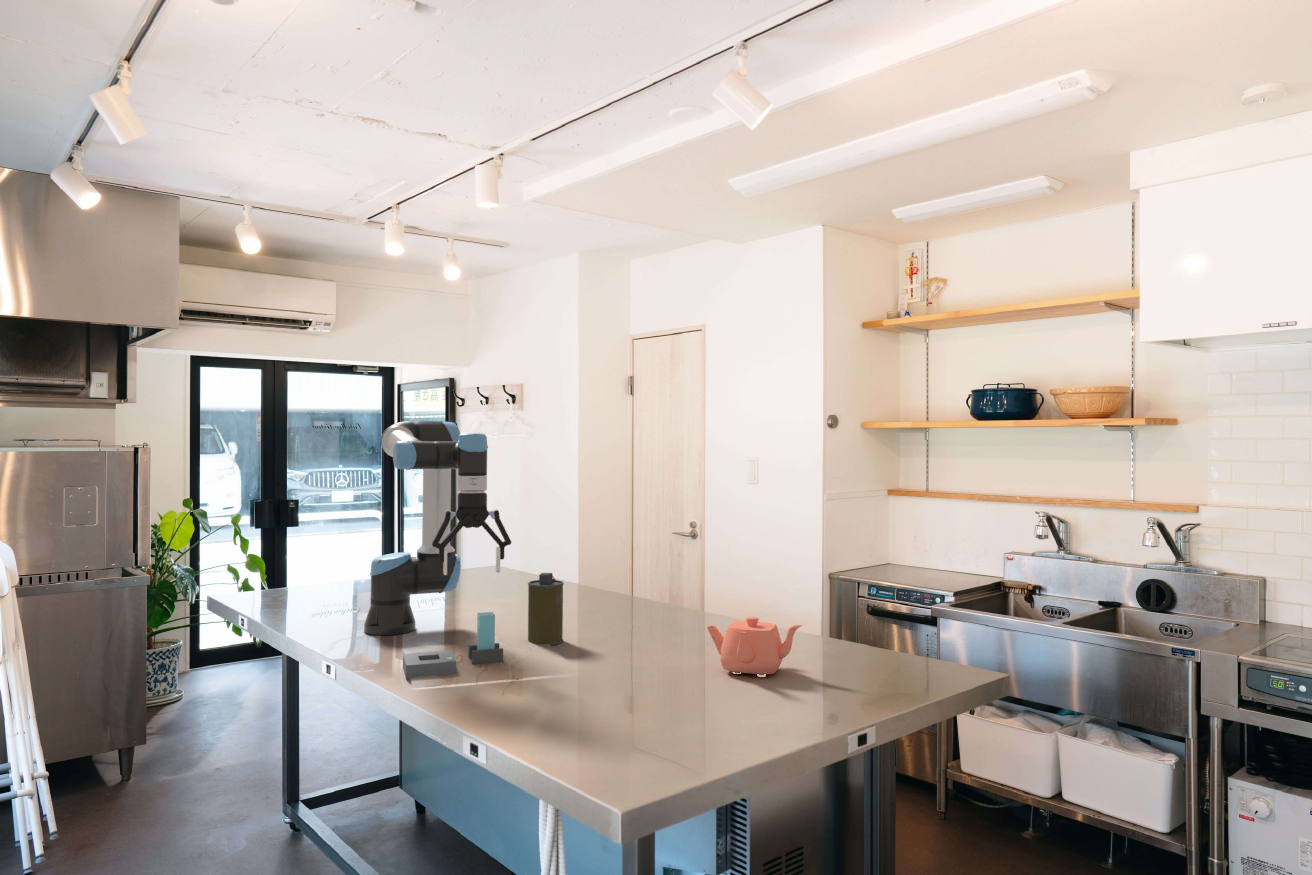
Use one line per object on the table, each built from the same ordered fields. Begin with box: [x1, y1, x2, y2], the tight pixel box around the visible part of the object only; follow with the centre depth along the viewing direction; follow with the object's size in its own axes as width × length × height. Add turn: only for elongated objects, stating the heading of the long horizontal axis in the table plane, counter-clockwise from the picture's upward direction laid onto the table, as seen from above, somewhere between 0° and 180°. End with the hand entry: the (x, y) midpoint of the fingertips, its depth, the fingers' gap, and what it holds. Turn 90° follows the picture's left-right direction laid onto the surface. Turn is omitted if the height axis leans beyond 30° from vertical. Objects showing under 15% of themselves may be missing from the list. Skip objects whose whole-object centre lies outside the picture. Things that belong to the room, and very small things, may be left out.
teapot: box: [706, 616, 803, 675], centre depth 214 cm, size 18×18×14 cm
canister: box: [527, 572, 565, 646], centre depth 245 cm, size 11×10×20 cm
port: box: [402, 649, 457, 681], centre depth 212 cm, size 12×12×4 cm
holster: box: [467, 642, 504, 665], centre depth 222 cm, size 7×8×4 cm
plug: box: [476, 611, 496, 650], centre depth 222 cm, size 4×4×12 cm
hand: (471, 573), depth 219 cm, fingers open, 13 cm apart
